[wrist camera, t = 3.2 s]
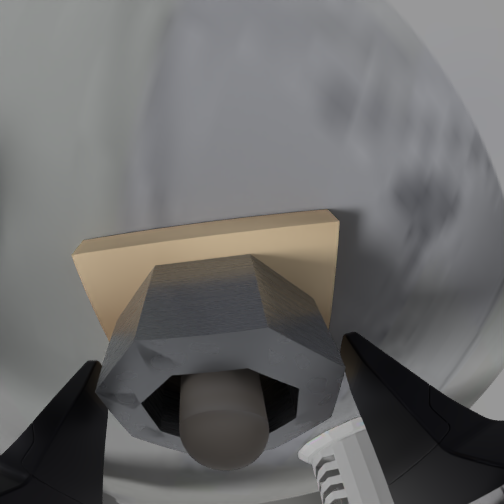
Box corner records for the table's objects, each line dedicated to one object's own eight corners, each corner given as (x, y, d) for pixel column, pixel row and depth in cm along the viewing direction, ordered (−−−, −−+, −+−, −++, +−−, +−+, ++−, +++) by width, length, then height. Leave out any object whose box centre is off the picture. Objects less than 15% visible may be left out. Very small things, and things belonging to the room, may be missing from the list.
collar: (305, 380, 11) (323, 438, 9) (156, 397, 11) (151, 456, 8) (316, 245, 8) (359, 310, 6) (96, 272, 8) (60, 342, 5)
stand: (313, 370, 13) (349, 474, 8) (149, 388, 12) (140, 495, 7) (327, 209, 9) (437, 333, 4) (83, 240, 8) (-5, 373, 3)
